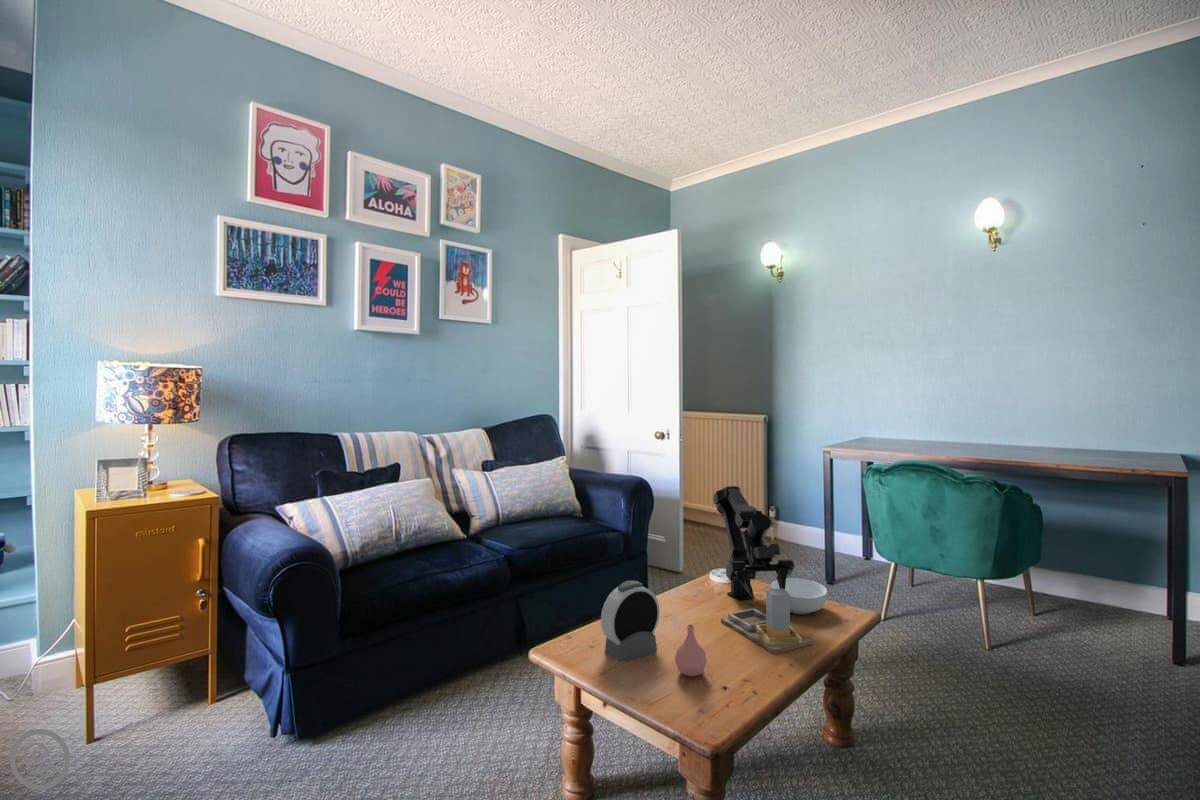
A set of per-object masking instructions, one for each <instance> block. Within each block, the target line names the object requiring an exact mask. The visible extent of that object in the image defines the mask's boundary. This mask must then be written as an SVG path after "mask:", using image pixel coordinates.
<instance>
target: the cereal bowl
mask: <svg viewBox="0 0 1200 800" xmlns="http://www.w3.org/2000/svg"><path fill="white" fill-rule="evenodd" d="M770 589H780V587H779V584H778V580H777V579H776V580H774V581H772V582H771V584H770ZM785 590H786V591H787V592H788V593H789V594H790V613H792V614H798V615H808V614H810V613H813V612H817V611H818V610H821V609H822V608H823V607H824V606H825V604H826V603H827V600H828V590H827V588H826V587H825V586H824V584H823V585H822V584H820V583H819V582H816V581H813V580H810V579H803V578H798V577H797V578H796V577H795V578H794V577H793V578H789V577H787V578H786V585H785Z"/></svg>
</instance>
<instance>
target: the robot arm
mask: <svg viewBox="0 0 1200 800" xmlns="http://www.w3.org/2000/svg"><path fill="white" fill-rule="evenodd" d="M713 503H714V505H715V507H716V510H717V512H718V513H719V514H721V516H723V521H724V525H725V530H726V533H727V538H728V542H729V546H730V551H731V554H730V556H729V559H728V563H727V565H726V568H725V575H726V577H727V578H728V580H729V581H730V591H728V592H726V594H727V595H728V596H730V597H732V598H734V599H736V600H738V601H743V600H746V599H751V598H754V597H755V595H754V591H753V586H752V584H751V580H756V575H757V572H758V573H759V572H775V573H776V575H777V576H776V580H778V584H779V587H780V589H785V585H786V578H789V576H791V575H792V573H793V572H794V570H795V568H796V566H795V563H794V561H793V560H792V559H790V558H789V559H787V558H786V559H778V561H777V563H774V564H773V563H772V561H773V559H774V558H776V556H779V555H780V554H781V551H780V546H779V543H771V544H770V546H768V545H767V544H765V540H764V538H765V537H766V536H767V534H768V532H769V530H770V528H771V526H772V520H771V518H769V517H768V516H767V515H766V514H764V513H763V512H762V510H758V509H757V508H756V507H754V506H752V505H749V503H748V502H747V500H746V498H745V497H744V495H743V493H742V492H741V488H740V487H739V486H737V485H727V486H725V487H723V488H722V489H720V490H716V491H715V492H714V494H713ZM741 529H744V531H743V533H742V530H741Z"/></svg>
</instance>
